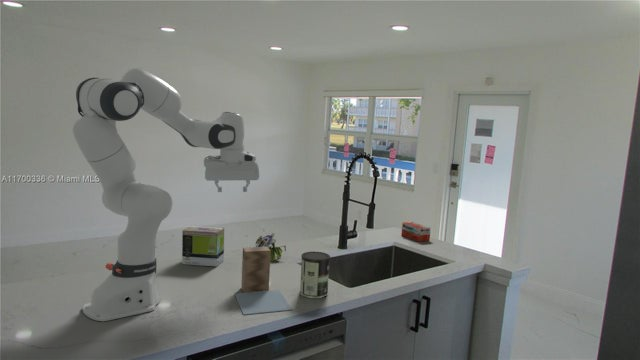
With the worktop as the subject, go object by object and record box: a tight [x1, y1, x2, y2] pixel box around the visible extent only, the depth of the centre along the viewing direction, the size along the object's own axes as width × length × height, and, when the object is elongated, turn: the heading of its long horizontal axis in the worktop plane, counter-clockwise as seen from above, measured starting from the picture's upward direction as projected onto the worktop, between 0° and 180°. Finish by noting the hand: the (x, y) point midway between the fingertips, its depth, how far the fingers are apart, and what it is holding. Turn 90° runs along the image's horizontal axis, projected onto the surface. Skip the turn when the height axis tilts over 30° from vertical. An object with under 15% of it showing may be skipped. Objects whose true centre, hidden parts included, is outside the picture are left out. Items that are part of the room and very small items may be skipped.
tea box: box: [181, 225, 225, 267], centre depth 184 cm, size 15×10×15 cm, turn 84°
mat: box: [234, 289, 293, 316], centre depth 147 cm, size 17×16×1 cm
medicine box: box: [401, 221, 431, 243], centre depth 246 cm, size 15×8×8 cm, turn 31°
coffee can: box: [299, 251, 331, 299], centre depth 157 cm, size 10×10×14 cm
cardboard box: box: [241, 246, 271, 293], centre depth 158 cm, size 9×5×15 cm, turn 110°
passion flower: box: [255, 232, 287, 263], centre depth 196 cm, size 13×12×14 cm
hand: (232, 191), depth 166 cm, fingers open, 8 cm apart
